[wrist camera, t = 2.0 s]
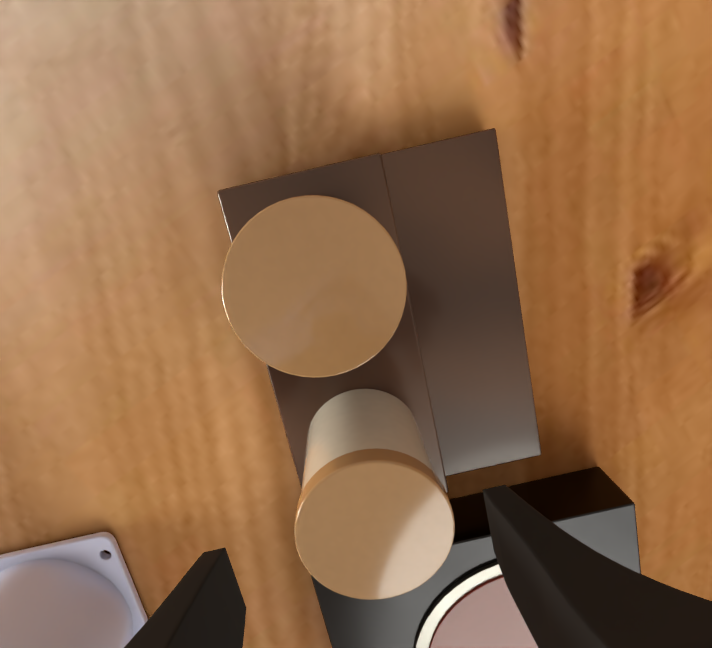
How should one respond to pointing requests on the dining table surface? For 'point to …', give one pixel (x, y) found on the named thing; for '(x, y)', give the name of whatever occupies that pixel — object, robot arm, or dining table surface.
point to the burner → (476, 615)
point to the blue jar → (314, 286)
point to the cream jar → (370, 499)
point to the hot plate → (488, 555)
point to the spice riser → (427, 300)
